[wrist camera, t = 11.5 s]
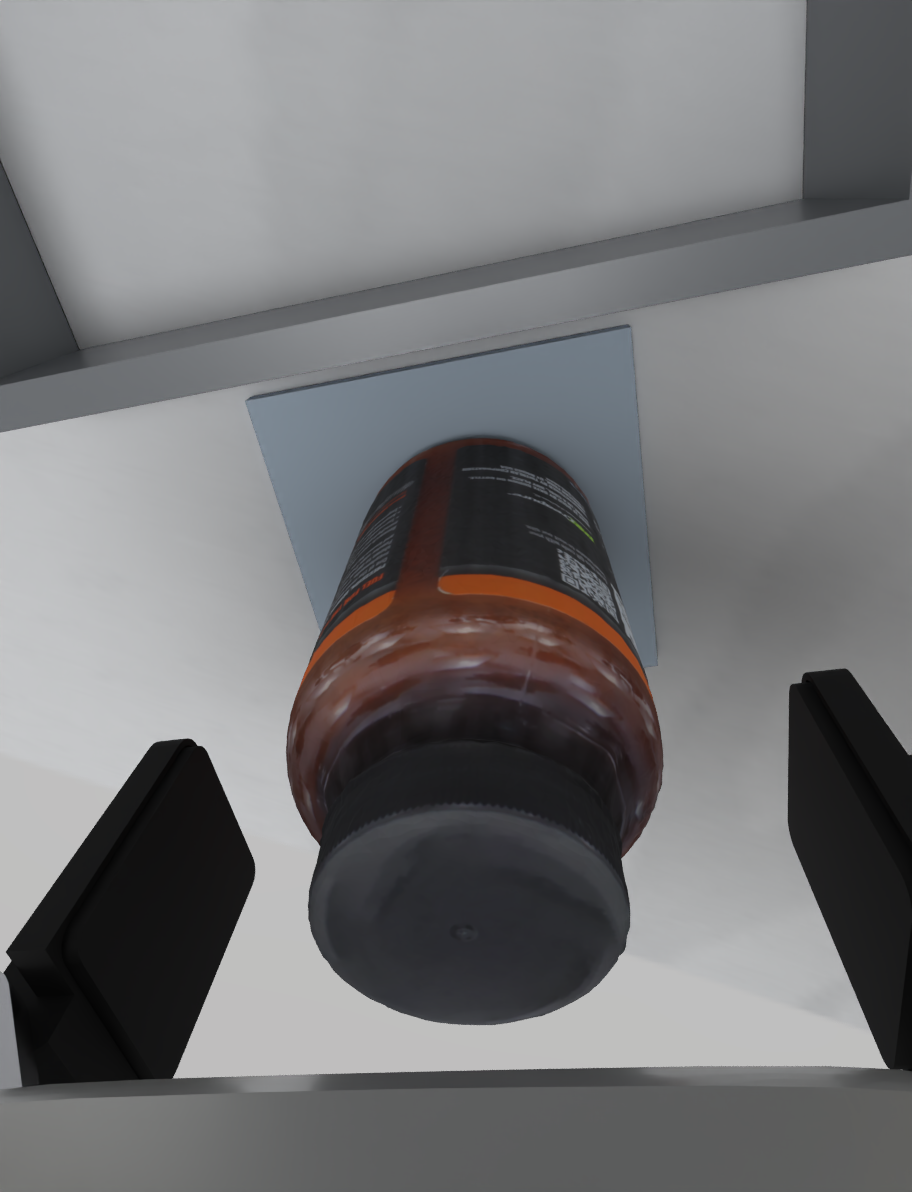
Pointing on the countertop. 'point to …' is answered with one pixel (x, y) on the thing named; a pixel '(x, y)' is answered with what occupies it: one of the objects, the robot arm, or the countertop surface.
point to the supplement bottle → (474, 744)
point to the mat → (456, 412)
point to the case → (520, 286)
